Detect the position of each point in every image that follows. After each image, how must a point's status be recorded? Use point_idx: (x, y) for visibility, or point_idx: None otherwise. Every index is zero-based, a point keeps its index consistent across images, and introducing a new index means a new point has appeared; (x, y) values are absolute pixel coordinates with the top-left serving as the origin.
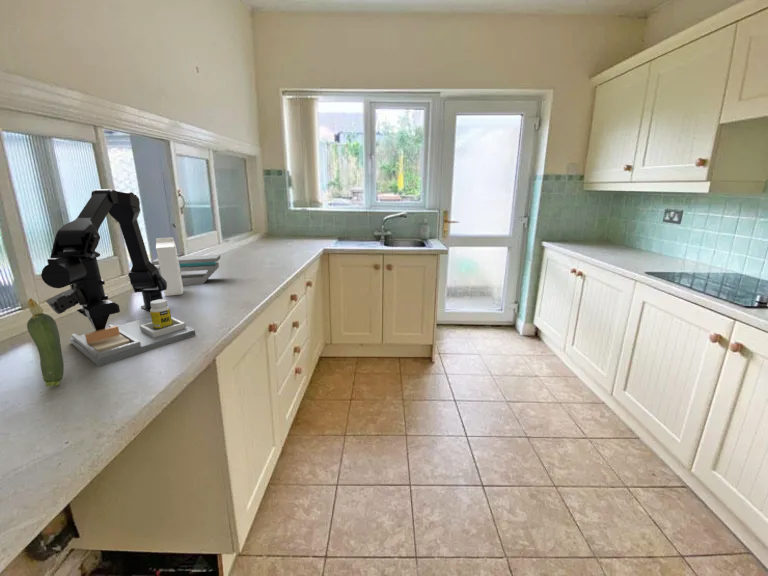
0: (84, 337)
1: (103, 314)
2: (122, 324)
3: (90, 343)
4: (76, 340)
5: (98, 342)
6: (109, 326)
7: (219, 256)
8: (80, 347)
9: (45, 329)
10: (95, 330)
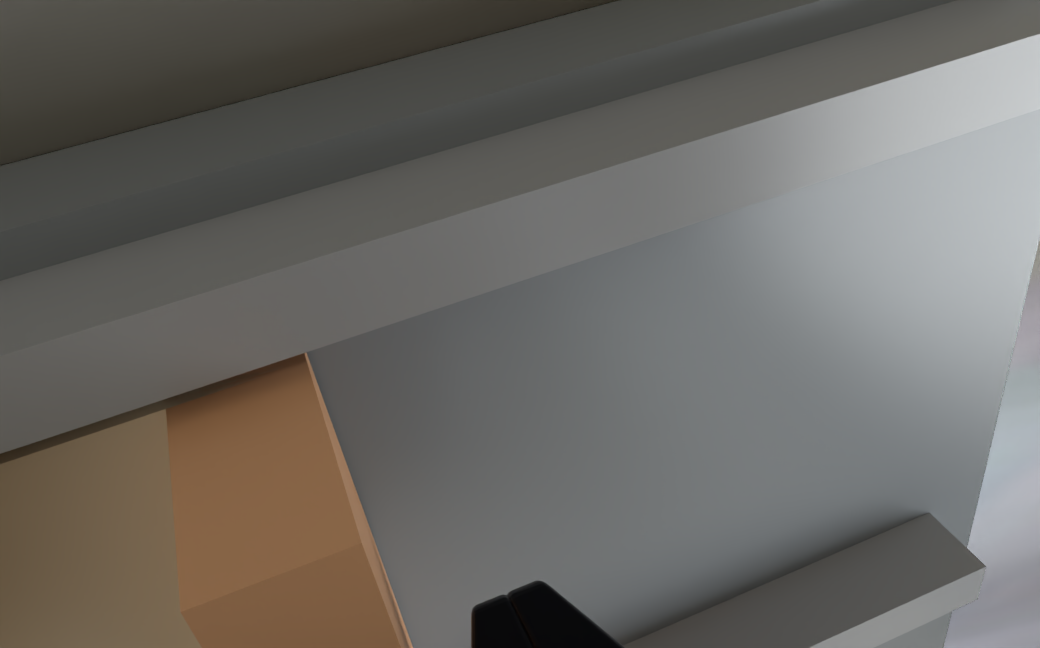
0: (875, 202)
1: None
2: (938, 625)
3: (72, 465)
4: (740, 85)
5: (25, 617)
6: (932, 568)
7: None
8: (230, 160)
9: None
10: (589, 645)
